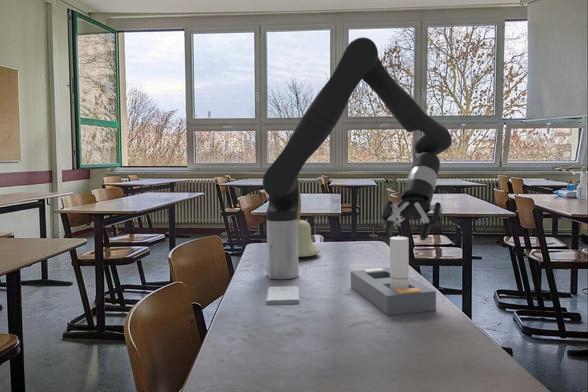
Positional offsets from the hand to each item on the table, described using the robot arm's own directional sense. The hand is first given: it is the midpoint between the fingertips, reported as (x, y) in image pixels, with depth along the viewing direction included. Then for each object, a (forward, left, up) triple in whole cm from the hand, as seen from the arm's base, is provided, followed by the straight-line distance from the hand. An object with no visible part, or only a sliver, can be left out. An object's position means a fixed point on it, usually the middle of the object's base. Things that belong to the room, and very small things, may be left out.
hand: (405, 237), depth 118 cm
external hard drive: (-28, +12, -16) cm, 35 cm away
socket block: (-3, +2, -16) cm, 16 cm away
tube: (-3, -3, -15) cm, 15 cm away
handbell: (-13, +58, -16) cm, 62 cm away
